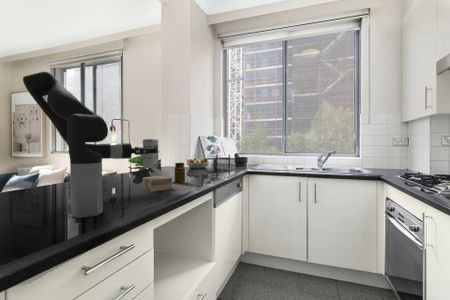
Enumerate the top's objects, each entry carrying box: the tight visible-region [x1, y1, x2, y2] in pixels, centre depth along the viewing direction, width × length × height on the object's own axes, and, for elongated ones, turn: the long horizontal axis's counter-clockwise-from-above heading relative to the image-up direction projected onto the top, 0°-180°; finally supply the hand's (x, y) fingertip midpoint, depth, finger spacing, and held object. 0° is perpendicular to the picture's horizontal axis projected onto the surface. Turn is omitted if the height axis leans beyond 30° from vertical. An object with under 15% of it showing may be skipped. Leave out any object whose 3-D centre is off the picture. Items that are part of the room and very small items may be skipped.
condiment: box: [172, 162, 187, 185], centre depth 141 cm, size 7×8×12 cm
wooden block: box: [141, 175, 173, 193], centre depth 124 cm, size 11×11×6 cm
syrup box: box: [142, 138, 159, 169], centre depth 123 cm, size 6×6×14 cm
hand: (154, 150), depth 124 cm, fingers closed on syrup box, 7 cm apart
